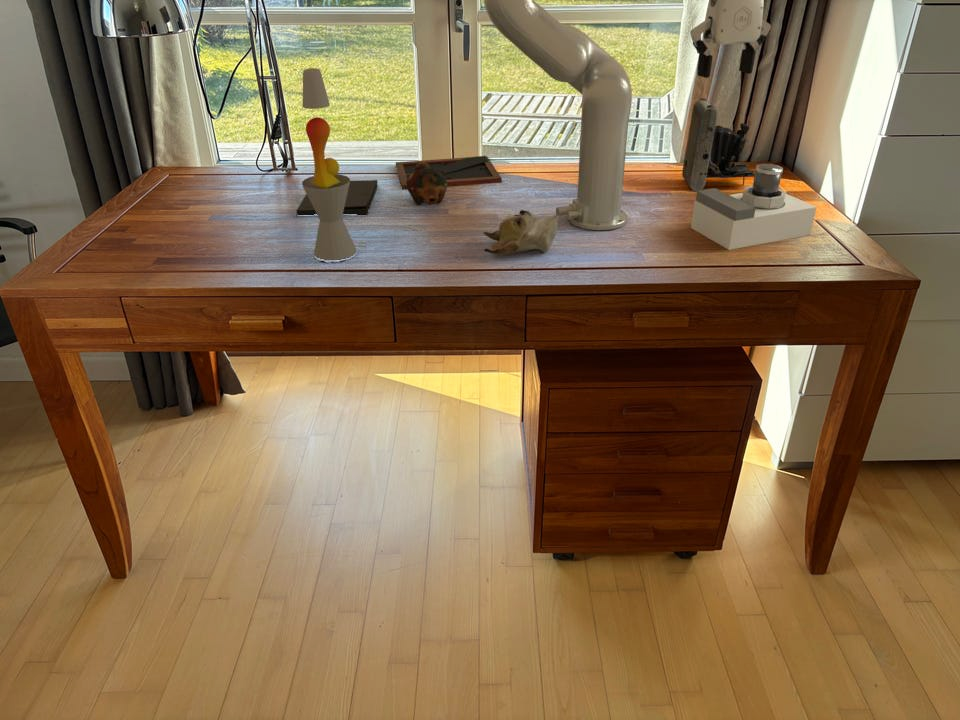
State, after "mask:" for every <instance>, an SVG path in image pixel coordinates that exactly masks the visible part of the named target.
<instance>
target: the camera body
mask: <svg viewBox="0 0 960 720" xmlns="http://www.w3.org/2000/svg"><path fill="white" fill-rule="evenodd" d="M752 187H753V185H752V186H745V187H744V189H743V192H741V193H734V194H728V193H726V192H724V191H722V190H719V189H718V188H715V187H713V188H707V189H702V190H700V191H696V197H695V200H694V201H693V210H692V217H691V218H692V219H691V224H690V228H691V229H692V230H694V231H696V232H697V233H699V234H701V235H702V236H704V237H705V238H708V239H709V240H711V241H713V242H715V243H716V244H718V245H720V246H721V247H723V248H725V249H726V250H727V251H728V250H729V251H732V250H736V249H742V248H746V247H747V248H749V247H752V246H753V247H754V246H759V245H762V244H763V245H764V244H770V243H775V242H780V241H787V240H791V239H795V238H796V239H797V238H802V237H807V236H811V233H812V229H813V224H814V220H815V216H816V212H817V206H814V205H813V204H812V203H811V204H810V203H808V202H806V201H804V200H803V199H802V200H801V199H799V198H797V197H794V196H792V195H790V194H788V193H787V192H786V191H785V190H783V189H780V188H779V189H778V194H777V197H771V198H768V197H760V196H755V195H753V194H751V193H752Z"/></svg>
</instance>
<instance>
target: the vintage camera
mask: <svg viewBox="0 0 960 720" xmlns="http://www.w3.org/2000/svg"><path fill="white" fill-rule="evenodd" d="M717 119H718V110H717V109H716V107H715V106H713V105H712V104H710V102H709V101H708V100H707V99H706V98H703V97H700V98H699V99H698V100H696V102H694V104H693V107H692V114H691V120H690V124H689V130H688V134H687V135H688V137H687V143H686V148H685V154H684V160H683V167H682V170H681V171H682V173H681V175H682V178H683V179H684V181H685V183H686V184H687V185H688V187H689V188H690V189H691V190H692V191H693V192H697V191H700V190H704V187H705V185H706V181H707V179H716V178H717V179H735V178H737V179H738V178H742V179H743V180H742V185H743V186H745V178H750V177H751V178H754V176H755V172H754V171H753V170H751V169H750V168H749V167H748V166H747V164H746V163H736V162H735V161H734V162H732V158H733V157H738V156H739V155H740V154H741V153H742V152H743V150H744V147H745V144H746V142H747V141H748V139H747V138H745V137H743V135H745V136H746V135H747V133H748V131H749V129H750V127H749V125H748V124H746V123H743V122H740V125H739V126H740V129H737V131H735V130H732V129H731V128H729V127H723V126H722V125H716V124H717ZM731 162H732V163H731Z"/></svg>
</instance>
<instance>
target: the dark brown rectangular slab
mask: <svg viewBox="0 0 960 720" xmlns="http://www.w3.org/2000/svg"><path fill="white" fill-rule="evenodd" d="M377 190H378V180H377V179H374V180H372V179H369V180H367V179H365V180H359V179H358V180H350V184H349V189H348V193H347V197H346V202H345V206H344V211H343V214H357V215H367V216H368V214H367V213H369V211H368V210H370V208H371V206H372V203H373V199H374V198H373V197H375V194H376V192H377ZM371 202H372V203H371ZM370 205H371V206H370ZM314 214H317V213H316V211H315V209H314V207H313V205H312V203H311V201H310V200H309V198H308V196H307V194H306V193H305V195H304V197H303V199H302V200H301V202H300V204H299V205H298V207H297V209H296V216H297V215H314Z"/></svg>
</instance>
